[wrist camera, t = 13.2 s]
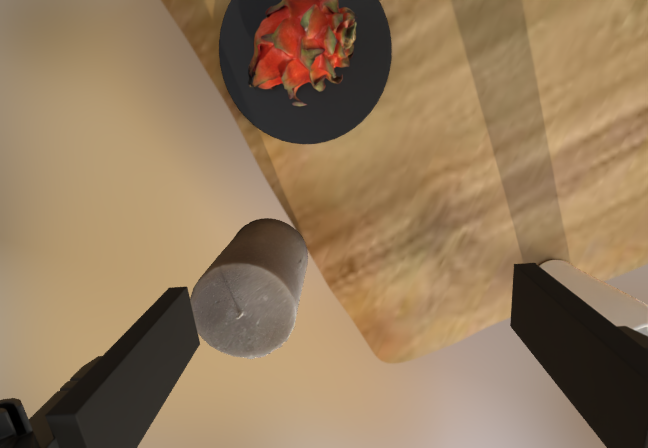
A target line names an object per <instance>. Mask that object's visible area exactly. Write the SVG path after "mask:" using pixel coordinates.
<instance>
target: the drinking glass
mask: <svg viewBox="0 0 648 448" xmlns="http://www.w3.org/2000/svg"><path fill="white" fill-rule="evenodd" d="M539 267H541V268H542V269H543V270H545V271H546V272H547V273H548V274H550V275H551V276H552V277H554V278H555V279H556V280H557V281H559V282H560V283H561V284H563V285H564V286H565V287H566V288H568V289H569V290H570V291H572V292H573V293H574V294H575V295H577V296H578V297H579V298H581V299H582V300H583V301H584V302H586V303H587V304H588V305H590V306H591V307H592V308H593V309H595V310H596V311H597V312H599V313H600V314H601V315H602V316H604V317H605V318H606V319H608V320H609V321H610V322H611V323H613V324H614V325H615V326H627V327H629V328H631V329H633V330H636V331H638V332H640V333H642V334H644V335H646V336H648V305H646V304H645V303H643V302H641V301H639V300H638V299H636V298H634V297H632V296H630V295H628V294H626V293H624V292H622V291H620V290H618V289H616V288H614V287H612V286H610V285H608V284H607V283H605V282H603V281H601V280H599V279H597V278H595V277H593V276H591V275H589V274H587V273H585V272H583V271H581V270H580V269H578V268H576V267H575V266H573V265H572V264H570V263H568V262H566V261H563V260H550V261H547V262H544V263H542V264H541V265H539Z"/></svg>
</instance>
